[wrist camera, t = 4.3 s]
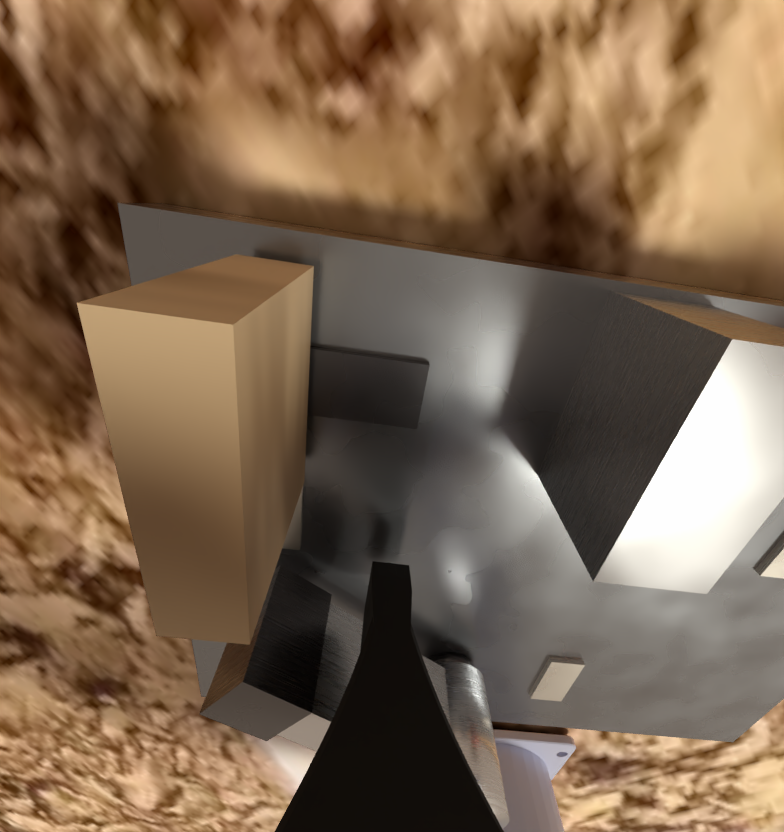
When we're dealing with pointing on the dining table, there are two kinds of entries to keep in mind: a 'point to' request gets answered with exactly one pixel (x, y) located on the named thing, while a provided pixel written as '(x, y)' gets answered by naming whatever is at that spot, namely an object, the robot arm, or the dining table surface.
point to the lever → (332, 680)
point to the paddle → (207, 431)
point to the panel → (535, 469)
